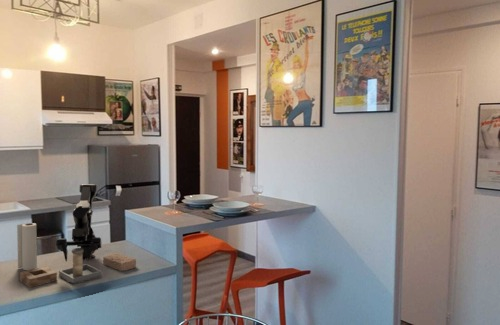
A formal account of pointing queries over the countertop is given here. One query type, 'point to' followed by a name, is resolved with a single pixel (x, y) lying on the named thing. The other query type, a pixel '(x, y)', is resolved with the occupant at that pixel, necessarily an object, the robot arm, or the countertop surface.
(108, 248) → the countertop surface
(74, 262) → the pin
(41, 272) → the socket block
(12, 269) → the countertop surface
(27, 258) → the paper towel roll
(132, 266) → the brick
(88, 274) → the tray
